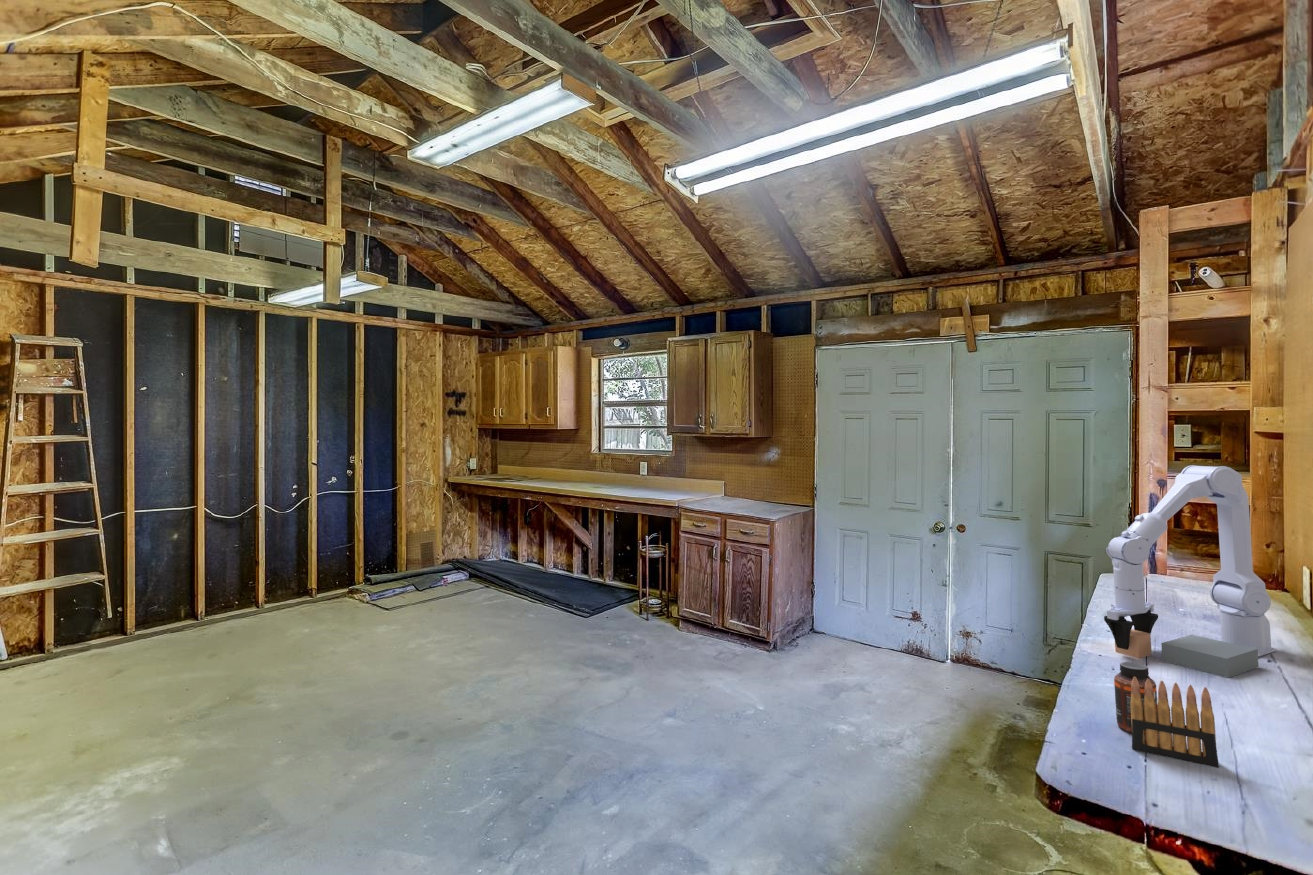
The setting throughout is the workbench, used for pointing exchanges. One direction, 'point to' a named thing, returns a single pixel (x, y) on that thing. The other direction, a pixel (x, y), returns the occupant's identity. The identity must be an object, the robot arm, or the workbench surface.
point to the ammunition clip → (1173, 725)
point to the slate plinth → (1210, 655)
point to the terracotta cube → (1137, 645)
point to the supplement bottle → (1124, 691)
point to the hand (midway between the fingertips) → (1132, 645)
